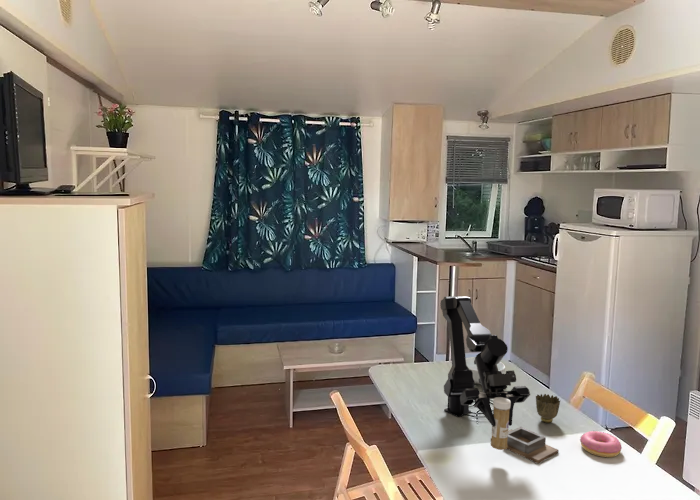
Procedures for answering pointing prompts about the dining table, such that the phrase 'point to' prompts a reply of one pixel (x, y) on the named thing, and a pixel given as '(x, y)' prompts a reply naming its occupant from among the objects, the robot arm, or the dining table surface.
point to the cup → (547, 407)
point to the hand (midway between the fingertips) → (502, 425)
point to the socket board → (529, 445)
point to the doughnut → (600, 444)
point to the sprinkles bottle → (500, 423)
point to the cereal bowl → (473, 367)
